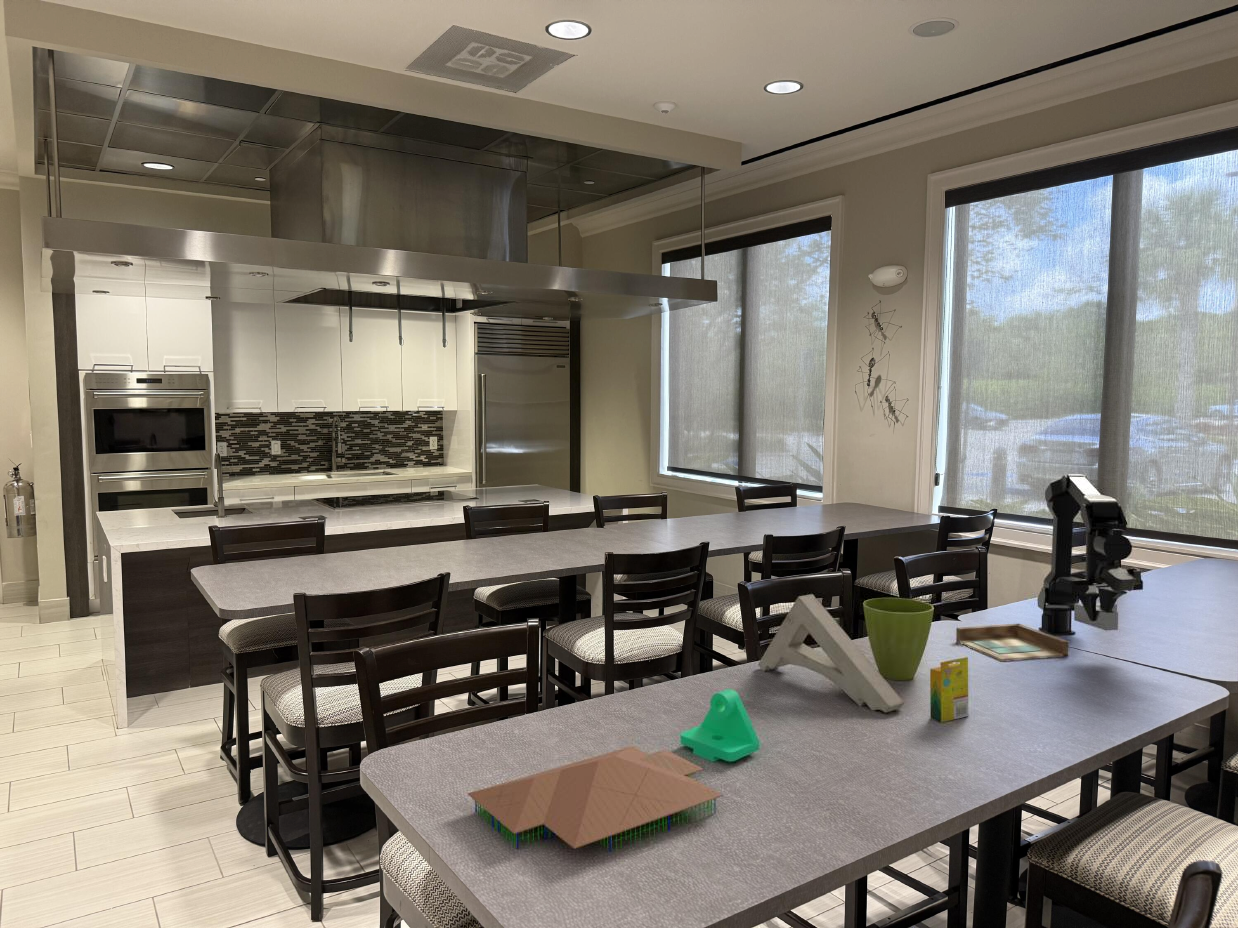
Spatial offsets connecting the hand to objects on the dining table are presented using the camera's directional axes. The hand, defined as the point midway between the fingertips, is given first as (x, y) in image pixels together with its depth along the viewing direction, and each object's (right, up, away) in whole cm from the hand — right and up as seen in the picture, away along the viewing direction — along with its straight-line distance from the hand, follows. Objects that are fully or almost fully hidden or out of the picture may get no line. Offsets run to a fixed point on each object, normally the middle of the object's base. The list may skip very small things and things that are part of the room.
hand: (1098, 620), depth 194 cm
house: (-113, -16, -69) cm, 133 cm away
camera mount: (-94, -14, -47) cm, 106 cm away
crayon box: (-47, -13, -32) cm, 59 cm away
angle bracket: (+3, -1, +2) cm, 3 cm away
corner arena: (-14, -10, +14) cm, 22 cm away
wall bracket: (-67, -12, -14) cm, 69 cm away
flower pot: (-49, -11, -6) cm, 50 cm away
